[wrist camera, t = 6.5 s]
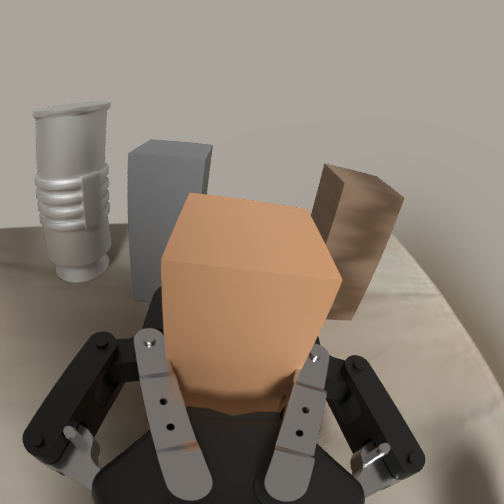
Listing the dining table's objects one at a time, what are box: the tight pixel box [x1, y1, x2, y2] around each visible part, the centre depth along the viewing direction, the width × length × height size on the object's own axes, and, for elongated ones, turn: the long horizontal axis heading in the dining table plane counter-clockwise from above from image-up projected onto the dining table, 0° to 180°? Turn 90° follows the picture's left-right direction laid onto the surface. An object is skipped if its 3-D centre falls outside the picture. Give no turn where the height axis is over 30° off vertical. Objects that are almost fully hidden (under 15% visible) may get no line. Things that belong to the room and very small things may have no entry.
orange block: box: [161, 193, 343, 415], centre depth 13 cm, size 5×5×12 cm
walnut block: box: [311, 164, 404, 320], centre depth 23 cm, size 5×5×12 cm
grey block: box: [128, 140, 213, 302], centre depth 21 cm, size 5×5×12 cm
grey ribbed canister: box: [33, 102, 112, 283], centre depth 21 cm, size 7×7×15 cm
